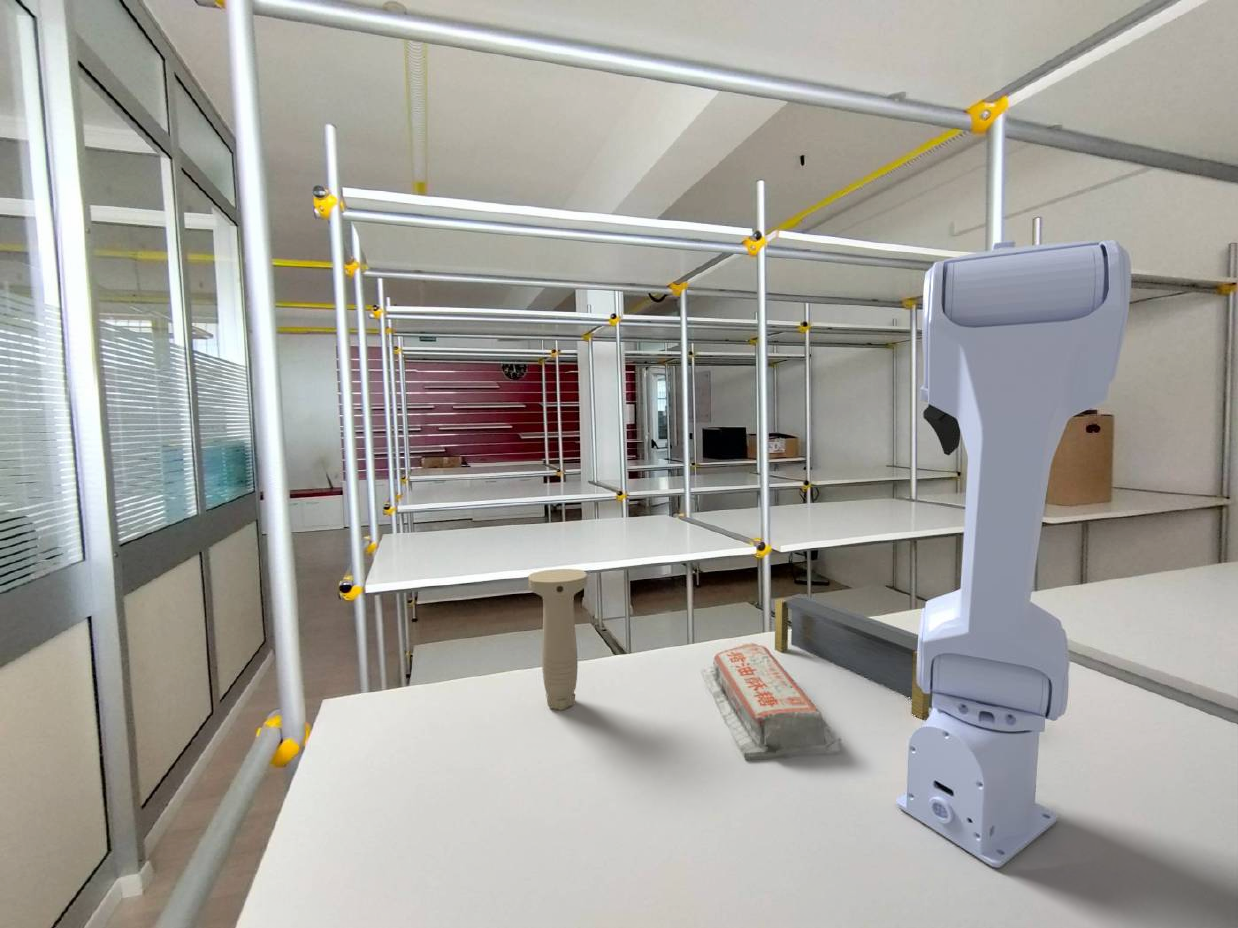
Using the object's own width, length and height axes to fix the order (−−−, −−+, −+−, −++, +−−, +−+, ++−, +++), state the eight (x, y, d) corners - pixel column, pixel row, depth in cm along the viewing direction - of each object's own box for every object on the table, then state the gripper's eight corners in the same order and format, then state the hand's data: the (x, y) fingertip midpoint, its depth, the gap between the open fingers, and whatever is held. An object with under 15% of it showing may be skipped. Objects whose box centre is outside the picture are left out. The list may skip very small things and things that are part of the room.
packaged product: (845, 710, 54) (744, 717, 54) (844, 758, 55) (743, 766, 54) (776, 635, 72) (699, 639, 71) (776, 672, 73) (699, 676, 72)
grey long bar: (922, 719, 61) (924, 656, 60) (774, 649, 79) (775, 599, 78) (947, 706, 63) (950, 645, 62) (799, 641, 81) (799, 593, 80)
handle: (531, 696, 67) (527, 571, 65) (585, 690, 68) (583, 567, 66) (533, 718, 62) (529, 584, 60) (592, 711, 63) (589, 579, 62)
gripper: (1089, 363, 56) (1069, 463, 65) (945, 334, 67) (943, 424, 75) (1051, 401, 54) (1035, 500, 63) (908, 366, 65) (910, 454, 73)
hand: (982, 461), depth 69 cm, fingers open, 7 cm apart
